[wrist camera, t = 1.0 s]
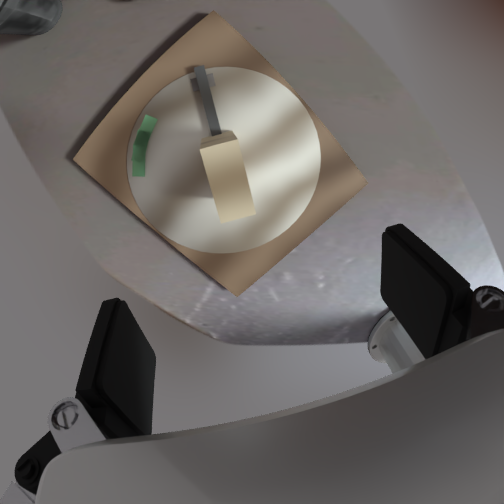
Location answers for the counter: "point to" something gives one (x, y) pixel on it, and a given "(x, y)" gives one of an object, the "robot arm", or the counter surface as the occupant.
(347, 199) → the square board with disc
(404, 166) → the counter surface
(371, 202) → the counter surface
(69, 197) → the counter surface
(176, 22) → the counter surface
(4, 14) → the beverage cup
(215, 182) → the beige block with rod
